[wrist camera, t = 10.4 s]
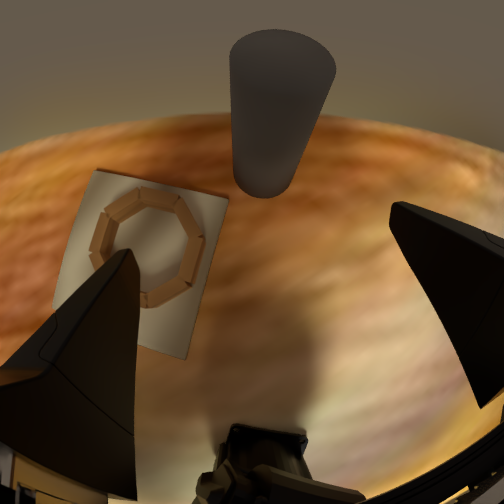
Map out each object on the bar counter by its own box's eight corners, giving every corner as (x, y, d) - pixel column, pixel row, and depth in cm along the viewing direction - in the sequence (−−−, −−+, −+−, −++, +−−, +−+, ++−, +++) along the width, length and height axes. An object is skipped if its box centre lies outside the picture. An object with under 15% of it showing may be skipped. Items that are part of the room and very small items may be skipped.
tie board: (228, 201, 23) (227, 190, 21) (186, 359, 21) (179, 365, 19) (96, 172, 24) (84, 161, 21) (54, 307, 21) (39, 307, 19)
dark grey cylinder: (297, 154, 24) (339, 44, 12) (285, 205, 24) (330, 109, 11) (242, 139, 24) (245, 22, 12) (226, 189, 24) (214, 82, 11)
